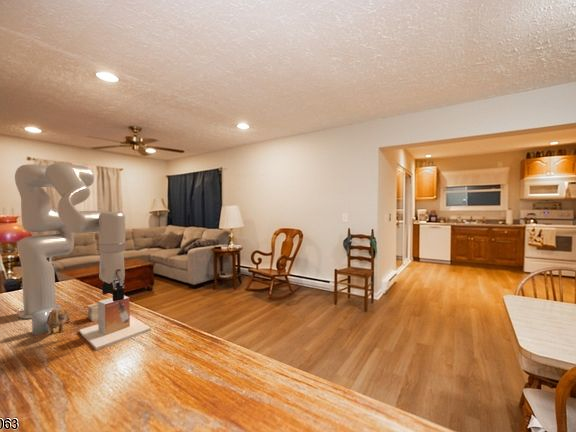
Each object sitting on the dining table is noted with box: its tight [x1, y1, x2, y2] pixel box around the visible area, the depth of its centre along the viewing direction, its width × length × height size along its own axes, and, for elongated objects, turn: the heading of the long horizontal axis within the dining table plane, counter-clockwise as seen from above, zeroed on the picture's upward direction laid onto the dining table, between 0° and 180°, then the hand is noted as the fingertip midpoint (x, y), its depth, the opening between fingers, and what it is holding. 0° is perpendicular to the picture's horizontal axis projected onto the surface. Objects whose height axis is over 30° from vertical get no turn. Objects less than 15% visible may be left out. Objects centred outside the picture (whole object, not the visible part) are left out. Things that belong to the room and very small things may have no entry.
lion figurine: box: [47, 306, 71, 336], centre depth 92 cm, size 15×5×9 cm, turn 36°
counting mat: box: [78, 314, 152, 351], centre depth 91 cm, size 18×16×1 cm
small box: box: [97, 295, 131, 335], centre depth 91 cm, size 8×6×10 cm
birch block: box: [87, 302, 98, 322], centre depth 102 cm, size 5×5×5 cm
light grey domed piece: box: [31, 309, 50, 336], centre depth 90 cm, size 4×4×7 cm
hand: (113, 296), depth 90 cm, fingers open, 9 cm apart
